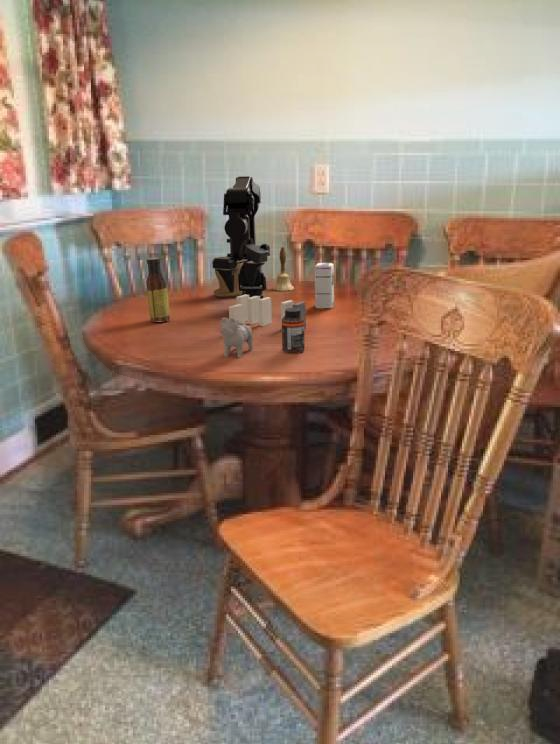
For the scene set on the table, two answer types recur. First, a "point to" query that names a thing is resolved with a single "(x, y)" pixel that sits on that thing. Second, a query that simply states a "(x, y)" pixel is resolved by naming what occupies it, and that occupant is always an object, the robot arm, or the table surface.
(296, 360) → the table surface
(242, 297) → the domino
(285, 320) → the supplement bottle
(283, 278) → the hand bell
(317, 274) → the syrup box
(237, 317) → the domino
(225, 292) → the stone cup
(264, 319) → the domino
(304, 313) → the domino
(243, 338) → the grey animal figure
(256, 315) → the domino
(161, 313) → the sauce bottle
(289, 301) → the domino
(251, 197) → the robot arm
